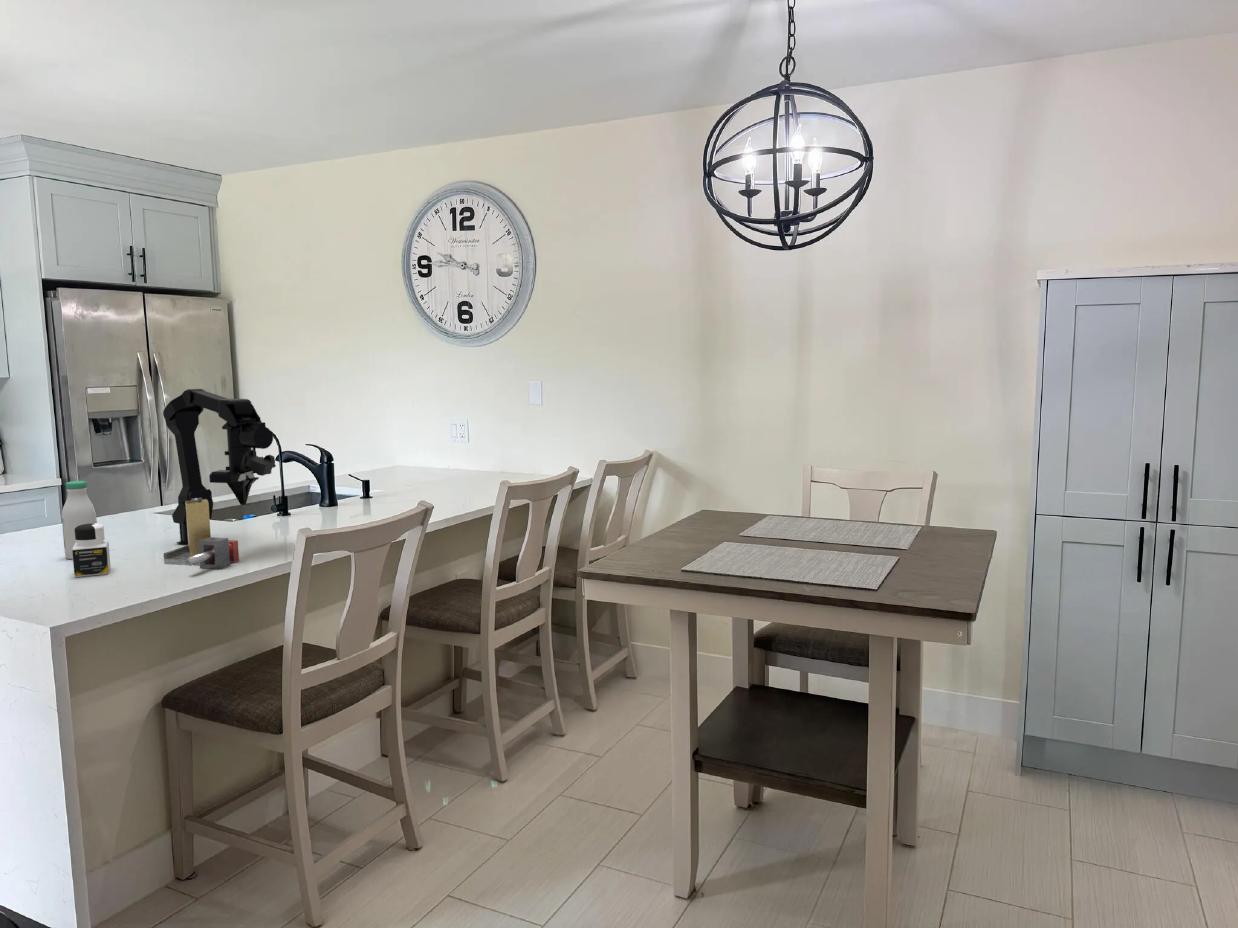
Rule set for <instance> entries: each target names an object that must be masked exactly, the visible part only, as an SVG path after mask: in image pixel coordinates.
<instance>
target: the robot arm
mask: <svg viewBox="0 0 1238 928" xmlns="http://www.w3.org/2000/svg"><path fill="white" fill-rule="evenodd" d="M204 410H208V411H211V412H214V413H216V414H218V417H219V418H220V419H222V420H224V421H225V423H224V424H223V425H222V426H221V429H222V430H226V438H227V440H226V441H227V450H225V451H224V456H228V466H225V469H219V470H214V471H211V473H210V474H208V475H209V476H208V477H209V478H208V479H209V483H213V484H227V486H228V487H229V489H230V490H231V491H232V493H233V494H234V496H235V497H236V500H237V502H239V504H240V505H241V506H245V505H247V503H248V499H249V496H250V492H251V488H252V485H253V484H254V483H255V482H256V481H258V480H259V478H260V477H259V476H266V475H270V474H272V470H273V469H274V468H275V467H276V466H277V465H276V459H275V456H274V455H271V454H266V455H265V456H257V451H256V449H263V450H265V449H268V448H269V447H270V446H271V445H272V443H273V441H274V434H273V433H272V430H271V429H269V427H267V426H266V422H262V420H261V417H260V415H259V414H258V412H257V409H255V406H254V405H253V403H252V401H251V400H250V399H249V398H228V397H224V396H222V395H218V394H215V393H212V392H209V391H206V390H204V389H202V388H189V389H188V388H187V389H186V390H184V391H183V392H182V393H181V394H180V395H179V396H177V397H175V398H173V399H172V400H170V401H169V402H168V404H167V405H165V407H164V409H163V410H162V411H163V413H162V415H163V419H164V421H165V425H166V427H167V429H168V430H169V431H170V432H171V433H172V435H174V440H175V446H176V451H177V452H176V453H177V458H178V465H179V471H180V478H181V483H182V488H181V490H180V492H179V494H178V495H177V505H176V508H175V509H174V511H173V513H172V515H171V517H172V521H173V523H175V524H178V526H179V527H178V528H179V537H180V538H179V539H180V541H176V544H177V545H188V533H187V519H186V505H185V501H191V499H192V498H202V500H203V499H207V501H208V503H209V518H210V520H212V515H213V510H214V509H213V508H214V500H213V495H212V490H211V489H210V488H208V489H207V488H206V486H205V485H203V482H202V476H201V475H202V474H201V469H200V461H199V455H198V448H197V442H196V438H195V437H196V436H195V435H196V434H195V433H196V430H197V429H198V427H199V424H200V421H199V419H200V418H199V417H200V415H201V414H202V413H203V412H204ZM255 474H256V475H258V477H257V476H256V477H255Z"/></svg>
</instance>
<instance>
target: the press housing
mask: <svg viewBox="0 0 1238 928" xmlns="http://www.w3.org/2000/svg"><path fill="white" fill-rule="evenodd" d="M228 540H229V537H212V536H211V537H209V538H205V539H202V540H199V553H200V554H201V553H204V552H207V551H210V550H213V549H214V554H215V557H214V558H211V559H208V560H206V561H203V562H200V565H199V567H200V568H199V569H208V570H209V569H210V570H211V569H212V570H222V569H224V568H227V567H229V566H231V562H230V557H229V541H228Z"/></svg>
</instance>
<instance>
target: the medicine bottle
mask: <svg viewBox="0 0 1238 928" xmlns="http://www.w3.org/2000/svg"><path fill="white" fill-rule="evenodd" d="M104 529H105V528H104V525H103V524H101V523H98V522H97V523H90V524H83V525H79V526H77V527H76V528H75V529H74V530H75V541H76V543H75V545H74V547H73V549H72V555H73V559H72V565H73V576H74V578H85V577H92V576H103V575H108V574H109V573H110V571H111V570H110V569H111V556H110V543H109V540H107V539H105V530H104Z"/></svg>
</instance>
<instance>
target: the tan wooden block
mask: <svg viewBox="0 0 1238 928" xmlns="http://www.w3.org/2000/svg"><path fill="white" fill-rule="evenodd" d="M185 505H186V519H187V533H188V544H187V545H188V547H189V555H190V557H192V556H195V555H198V554H200V553H199V540H202V539H205V538H209V537H212V534H211V522H210V520H211V519H210V518H209V503H208V501H207V499H203V500H202V498H192V499H191V501H185Z"/></svg>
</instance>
